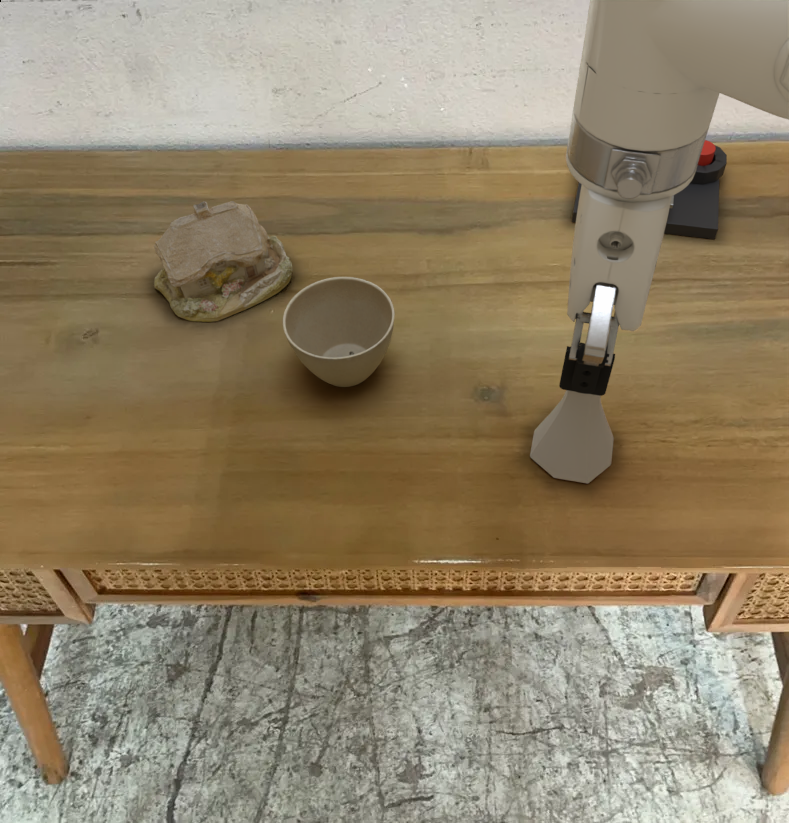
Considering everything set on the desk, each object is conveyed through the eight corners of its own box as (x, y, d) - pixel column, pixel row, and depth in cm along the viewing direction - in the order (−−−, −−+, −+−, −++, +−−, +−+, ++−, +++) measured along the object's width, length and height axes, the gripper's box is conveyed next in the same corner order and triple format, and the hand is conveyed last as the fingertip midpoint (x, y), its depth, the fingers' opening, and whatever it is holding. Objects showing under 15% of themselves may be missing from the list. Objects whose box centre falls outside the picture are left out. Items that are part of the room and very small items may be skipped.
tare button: (712, 152, 93) (716, 140, 91) (711, 168, 91) (715, 156, 90) (686, 150, 93) (689, 138, 92) (685, 165, 92) (688, 153, 90)
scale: (720, 166, 95) (727, 143, 93) (718, 240, 88) (725, 217, 85) (584, 151, 98) (587, 129, 96) (571, 222, 91) (575, 200, 88)
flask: (627, 436, 73) (649, 362, 65) (593, 497, 70) (612, 427, 62) (551, 404, 76) (564, 329, 68) (515, 461, 72) (524, 389, 64)
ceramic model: (170, 336, 83) (141, 261, 75) (148, 266, 90) (119, 191, 82) (303, 295, 86) (289, 218, 78) (272, 230, 92) (256, 153, 84)
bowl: (281, 347, 82) (269, 294, 76) (377, 317, 83) (372, 264, 78) (311, 422, 76) (300, 372, 70) (413, 389, 78) (411, 337, 72)
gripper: (697, 249, 42) (631, 442, 56) (705, 65, 52) (648, 267, 66) (549, 229, 44) (520, 422, 57) (585, 53, 54) (553, 253, 67)
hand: (589, 339), depth 62 cm, fingers open, 9 cm apart
